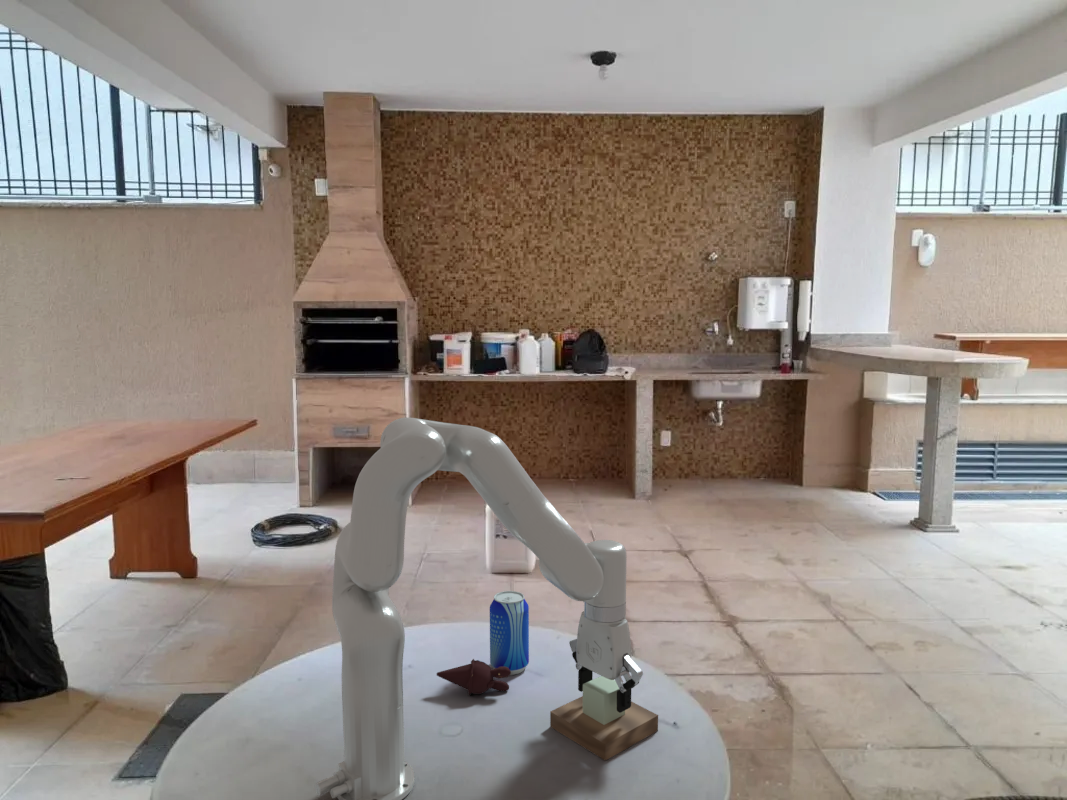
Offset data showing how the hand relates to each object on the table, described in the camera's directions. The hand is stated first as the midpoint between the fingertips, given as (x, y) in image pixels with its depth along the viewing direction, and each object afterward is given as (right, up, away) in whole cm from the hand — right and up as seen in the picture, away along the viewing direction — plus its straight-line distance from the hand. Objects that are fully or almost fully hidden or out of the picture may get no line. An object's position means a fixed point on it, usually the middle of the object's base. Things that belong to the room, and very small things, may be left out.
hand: (604, 698), depth 135 cm
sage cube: (0, -3, 0) cm, 3 cm away
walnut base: (0, -6, +1) cm, 6 cm away
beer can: (-18, -3, +25) cm, 31 cm away
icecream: (-25, -5, +14) cm, 29 cm away
